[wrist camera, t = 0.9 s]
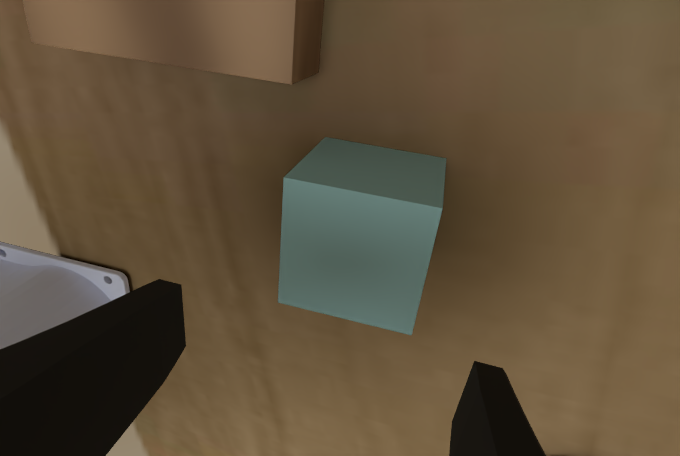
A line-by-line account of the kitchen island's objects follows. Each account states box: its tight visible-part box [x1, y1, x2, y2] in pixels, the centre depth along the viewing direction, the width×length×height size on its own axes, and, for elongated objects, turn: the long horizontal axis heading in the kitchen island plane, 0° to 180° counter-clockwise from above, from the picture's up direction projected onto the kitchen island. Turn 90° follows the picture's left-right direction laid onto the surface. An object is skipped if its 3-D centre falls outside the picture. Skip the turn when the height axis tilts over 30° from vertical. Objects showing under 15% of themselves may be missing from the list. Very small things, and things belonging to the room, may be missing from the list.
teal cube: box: [278, 137, 446, 335], centre depth 16 cm, size 5×5×5 cm
